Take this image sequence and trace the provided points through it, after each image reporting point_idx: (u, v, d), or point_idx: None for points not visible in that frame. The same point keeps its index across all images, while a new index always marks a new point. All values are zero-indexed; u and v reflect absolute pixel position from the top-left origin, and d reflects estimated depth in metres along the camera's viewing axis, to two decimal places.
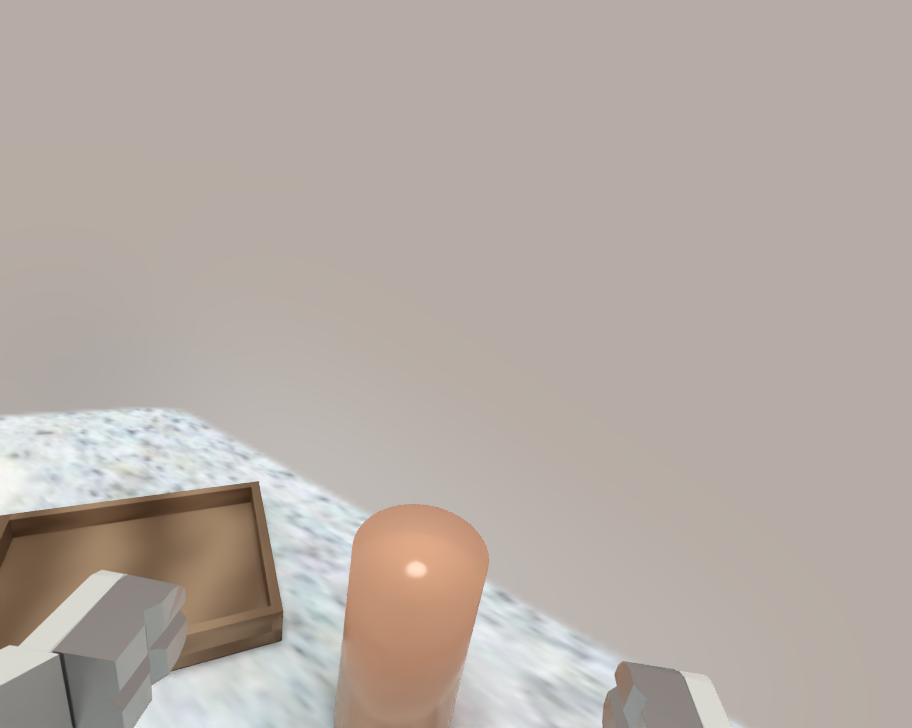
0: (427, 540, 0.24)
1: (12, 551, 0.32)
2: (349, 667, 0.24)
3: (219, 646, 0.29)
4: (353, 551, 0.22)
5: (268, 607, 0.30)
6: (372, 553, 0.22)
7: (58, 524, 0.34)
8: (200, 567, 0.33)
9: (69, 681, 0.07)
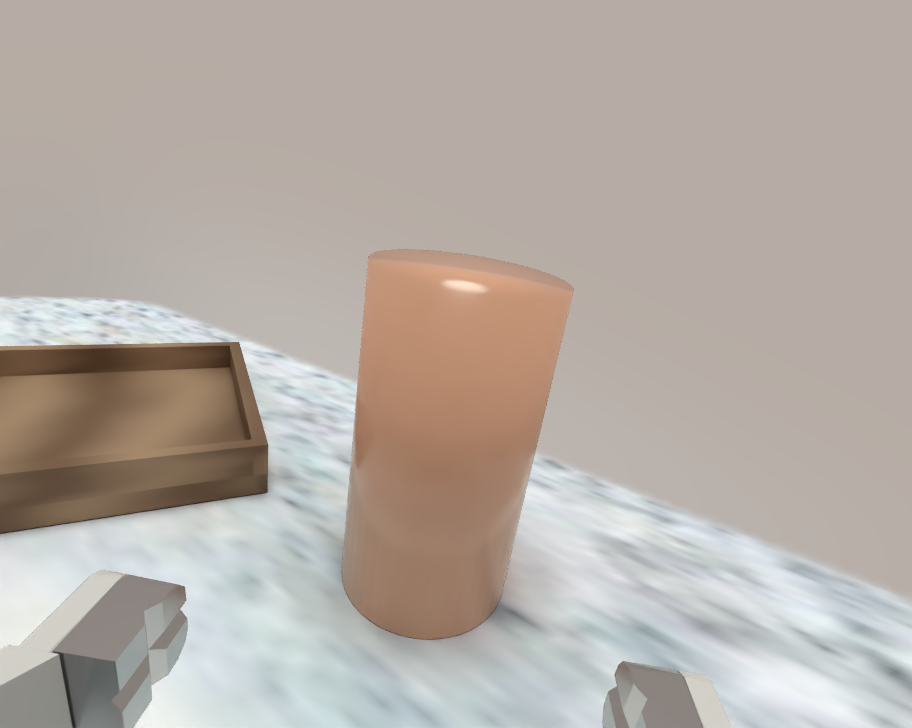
0: (477, 268, 0.16)
1: None
2: (364, 454, 0.16)
3: (180, 486, 0.21)
4: (370, 259, 0.15)
5: (248, 440, 0.22)
6: (398, 264, 0.15)
7: None
8: (160, 415, 0.25)
9: (69, 681, 0.07)
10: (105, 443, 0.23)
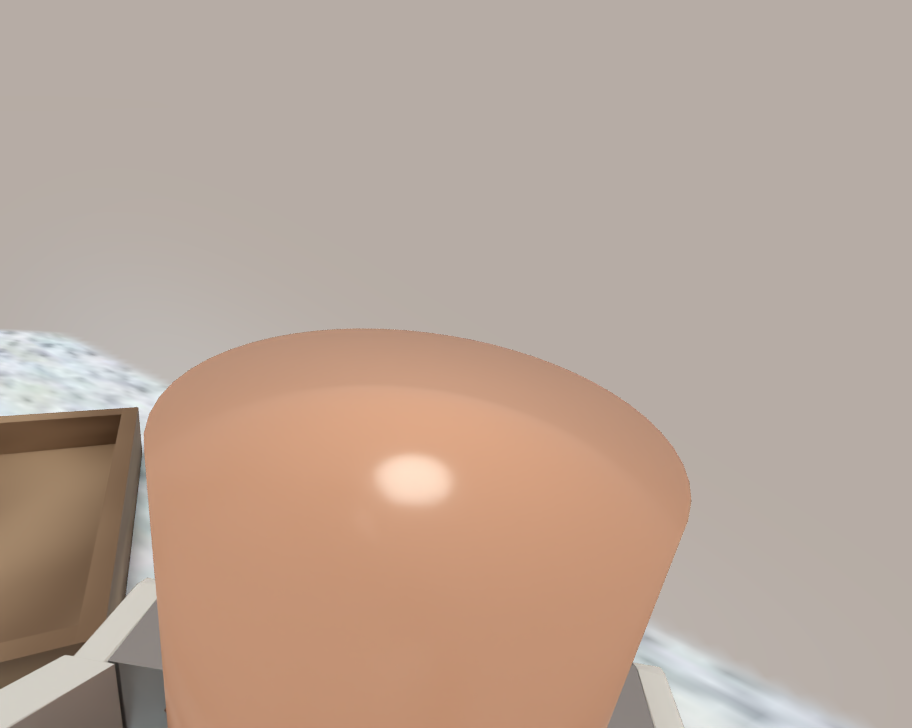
0: (450, 392, 0.07)
1: None
2: None
3: None
4: (161, 400, 0.06)
5: (70, 629, 0.13)
6: (239, 410, 0.06)
7: None
8: None
9: (123, 690, 0.07)
10: None
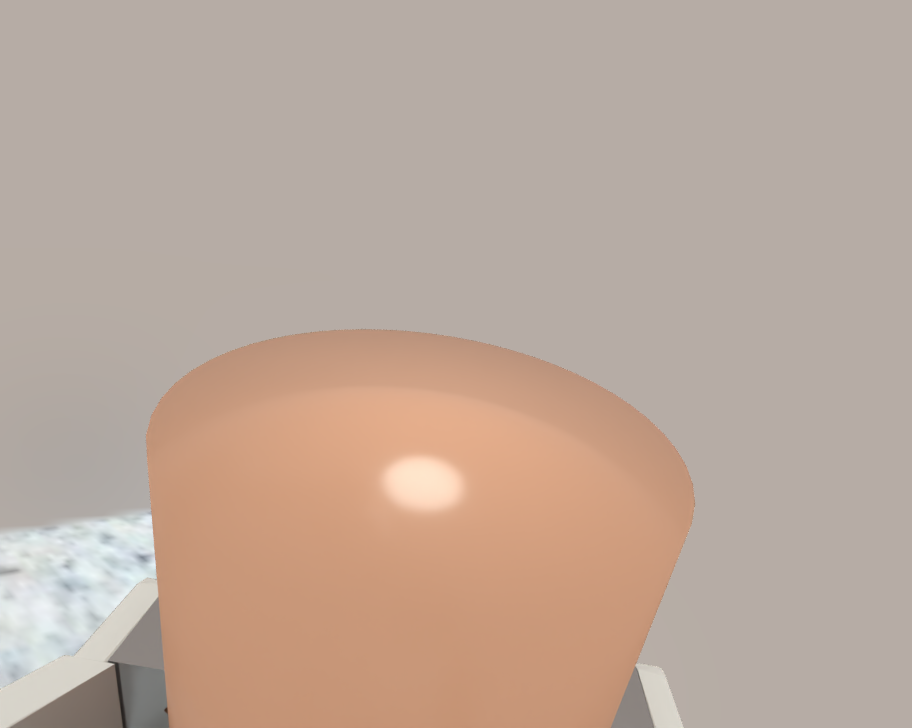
0: (452, 394, 0.07)
1: None
2: None
3: None
4: (164, 401, 0.06)
5: None
6: (240, 411, 0.06)
7: None
8: None
9: (123, 691, 0.07)
10: None
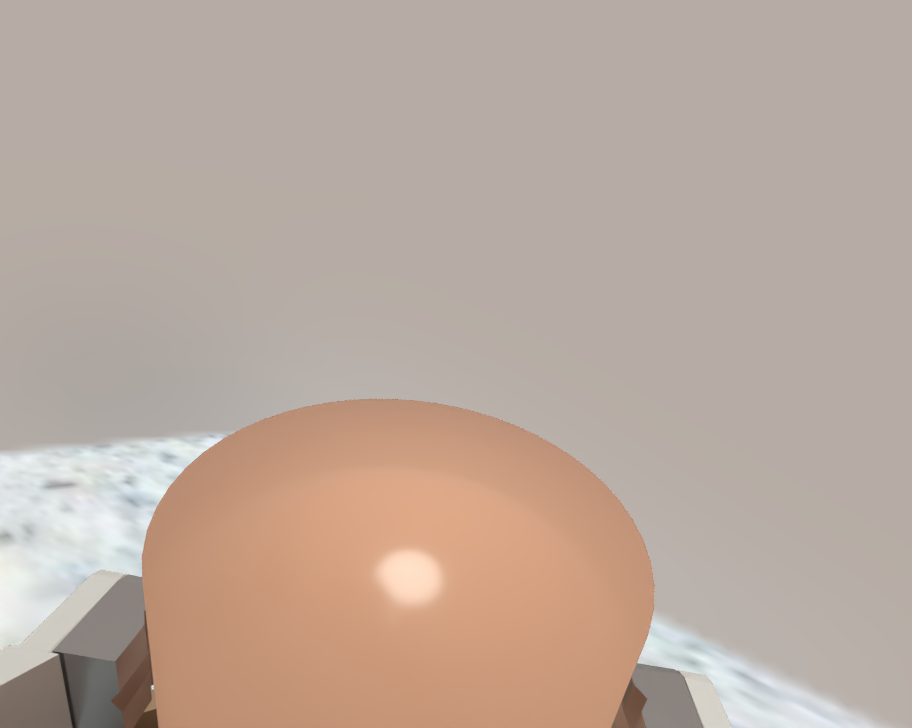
0: (433, 481, 0.07)
1: None
2: None
3: None
4: (159, 511, 0.06)
5: None
6: (230, 518, 0.06)
7: None
8: None
9: (69, 681, 0.07)
10: None
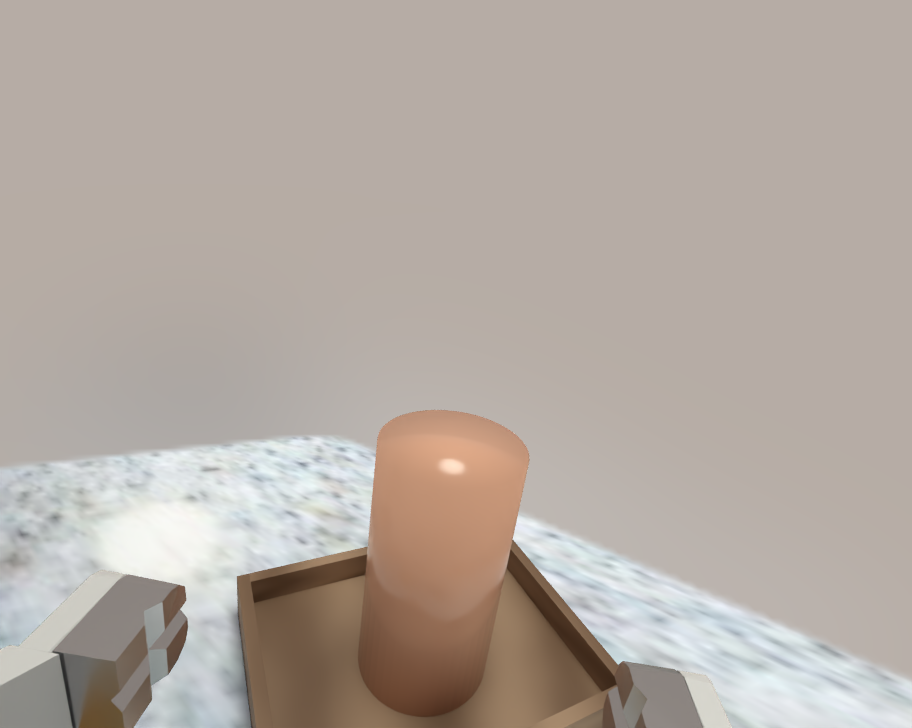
0: (459, 437, 0.21)
1: (259, 622, 0.25)
2: (376, 581, 0.21)
3: None
4: (379, 443, 0.20)
5: None
6: (399, 446, 0.20)
7: (299, 583, 0.27)
8: None
9: (69, 681, 0.07)
10: None
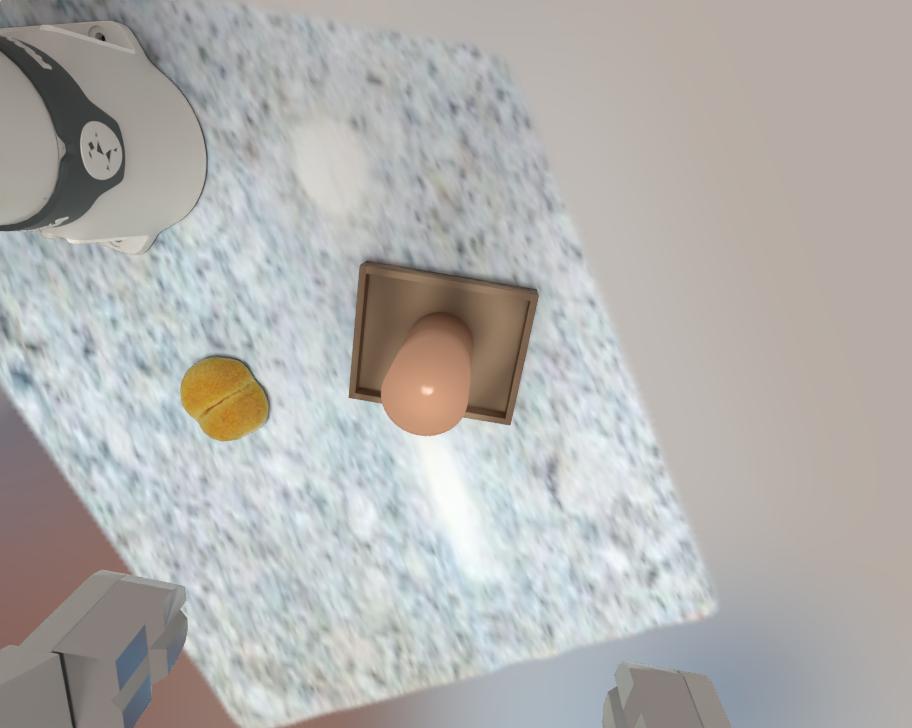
0: (431, 393, 0.36)
1: (371, 285, 0.46)
2: None
3: None
4: (384, 380, 0.36)
5: (503, 419, 0.48)
6: (394, 387, 0.36)
7: None
8: (478, 351, 0.47)
9: (69, 681, 0.07)
10: None
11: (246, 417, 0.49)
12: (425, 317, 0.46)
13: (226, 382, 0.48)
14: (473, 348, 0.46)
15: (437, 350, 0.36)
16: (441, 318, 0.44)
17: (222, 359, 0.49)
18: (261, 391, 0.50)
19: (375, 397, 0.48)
